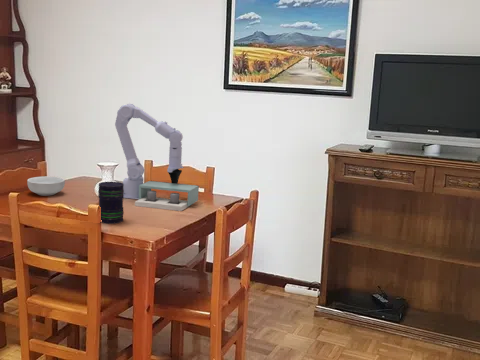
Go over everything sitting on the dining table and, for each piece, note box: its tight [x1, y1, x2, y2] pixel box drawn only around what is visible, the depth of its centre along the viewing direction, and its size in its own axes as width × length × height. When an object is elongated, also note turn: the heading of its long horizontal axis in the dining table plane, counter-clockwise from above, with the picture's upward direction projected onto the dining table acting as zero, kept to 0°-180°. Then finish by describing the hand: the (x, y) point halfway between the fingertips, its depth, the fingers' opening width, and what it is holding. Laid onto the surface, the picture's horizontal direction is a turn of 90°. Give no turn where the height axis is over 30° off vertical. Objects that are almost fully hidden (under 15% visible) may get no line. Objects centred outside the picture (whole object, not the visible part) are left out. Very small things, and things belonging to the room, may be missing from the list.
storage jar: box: [97, 181, 125, 225], centre depth 225 cm, size 10×10×15 cm
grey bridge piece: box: [138, 180, 200, 207], centre depth 262 cm, size 25×12×7 cm, turn 76°
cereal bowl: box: [27, 175, 66, 197], centre depth 267 cm, size 17×17×7 cm
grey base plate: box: [134, 196, 190, 212], centre depth 256 cm, size 22×12×2 cm, turn 76°
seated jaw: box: [169, 192, 180, 204], centre depth 254 cm, size 4×4×6 cm
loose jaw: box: [147, 190, 157, 202], centre depth 257 cm, size 4×4×6 cm
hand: (174, 185), depth 268 cm, fingers closed
